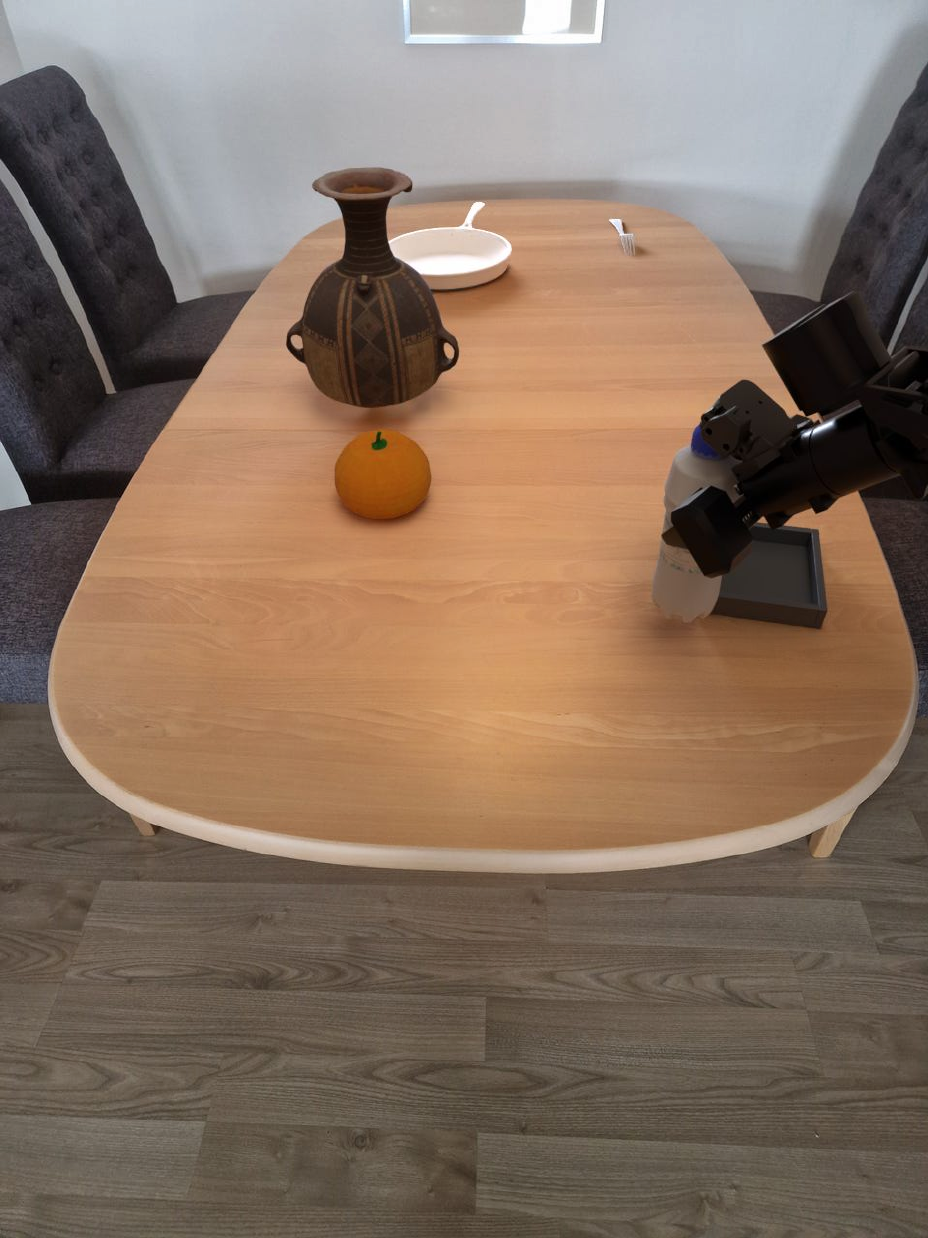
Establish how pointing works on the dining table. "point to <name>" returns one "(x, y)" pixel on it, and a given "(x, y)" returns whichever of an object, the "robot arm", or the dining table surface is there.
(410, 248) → the pan
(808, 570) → the tray
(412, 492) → the fruit
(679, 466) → the bottle
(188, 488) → the dining table surface
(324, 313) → the vase
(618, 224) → the fork
